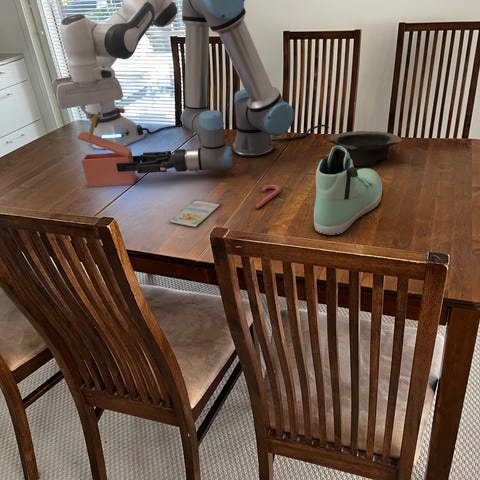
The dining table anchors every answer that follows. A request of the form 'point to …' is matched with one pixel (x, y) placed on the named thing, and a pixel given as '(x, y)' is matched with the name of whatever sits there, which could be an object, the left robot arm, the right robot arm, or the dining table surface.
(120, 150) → the block with yellow handle
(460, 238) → the dining table surface
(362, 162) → the dark brown hat
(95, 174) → the open box
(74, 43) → the left robot arm
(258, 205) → the candy cane
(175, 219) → the baking ingredient package
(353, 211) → the sneaker
